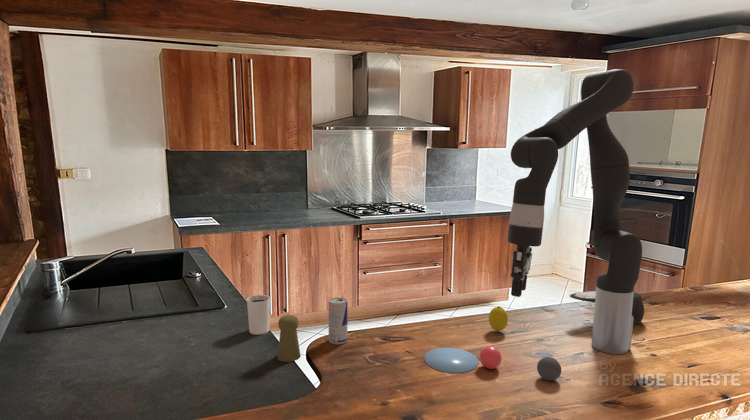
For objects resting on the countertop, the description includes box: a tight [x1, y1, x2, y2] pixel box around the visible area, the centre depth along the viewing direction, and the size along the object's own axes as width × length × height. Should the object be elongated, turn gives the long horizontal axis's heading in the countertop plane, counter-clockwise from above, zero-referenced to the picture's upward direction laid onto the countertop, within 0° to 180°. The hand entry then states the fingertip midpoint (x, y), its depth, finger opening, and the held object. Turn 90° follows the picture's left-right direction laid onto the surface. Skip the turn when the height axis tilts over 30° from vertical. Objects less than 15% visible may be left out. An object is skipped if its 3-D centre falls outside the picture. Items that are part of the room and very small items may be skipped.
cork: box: [276, 314, 301, 363], centre depth 125 cm, size 6×6×11 cm
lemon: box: [488, 305, 509, 333], centre depth 143 cm, size 6×6×8 cm
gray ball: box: [536, 356, 562, 382], centre depth 115 cm, size 6×6×6 cm
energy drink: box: [328, 297, 348, 346], centre depth 135 cm, size 5×5×12 cm
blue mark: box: [423, 347, 479, 374], centre depth 125 cm, size 14×14×1 cm
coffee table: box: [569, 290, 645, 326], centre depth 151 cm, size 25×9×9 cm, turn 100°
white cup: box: [246, 294, 271, 336], centre depth 142 cm, size 7×7×10 cm
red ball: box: [478, 345, 502, 370], centre depth 120 cm, size 6×6×6 cm
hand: (518, 292), depth 111 cm, fingers open, 8 cm apart
